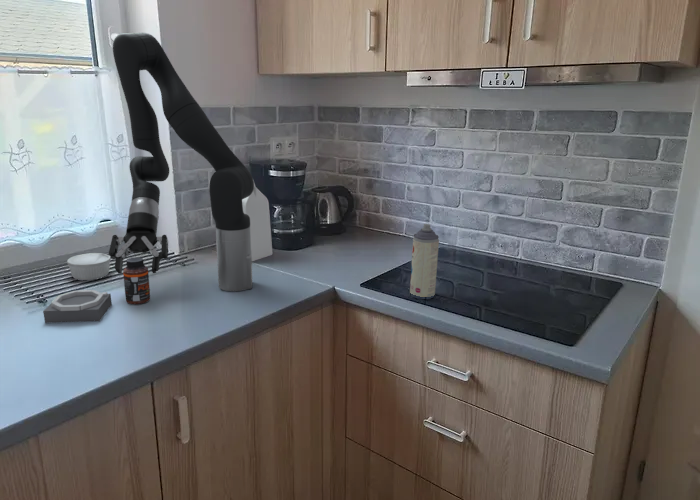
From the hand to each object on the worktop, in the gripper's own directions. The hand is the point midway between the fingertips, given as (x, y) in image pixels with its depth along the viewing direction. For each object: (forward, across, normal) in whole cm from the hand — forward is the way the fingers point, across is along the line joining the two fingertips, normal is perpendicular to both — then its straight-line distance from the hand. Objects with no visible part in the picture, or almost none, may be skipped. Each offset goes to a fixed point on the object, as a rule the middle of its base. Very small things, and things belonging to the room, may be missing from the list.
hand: (136, 272), depth 136 cm
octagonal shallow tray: (+11, -12, -1) cm, 16 cm away
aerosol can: (+7, +75, +3) cm, 76 cm away
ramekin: (-8, -18, +19) cm, 28 cm away
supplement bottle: (+6, 0, +4) cm, 8 cm away
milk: (-21, +26, +31) cm, 46 cm away
